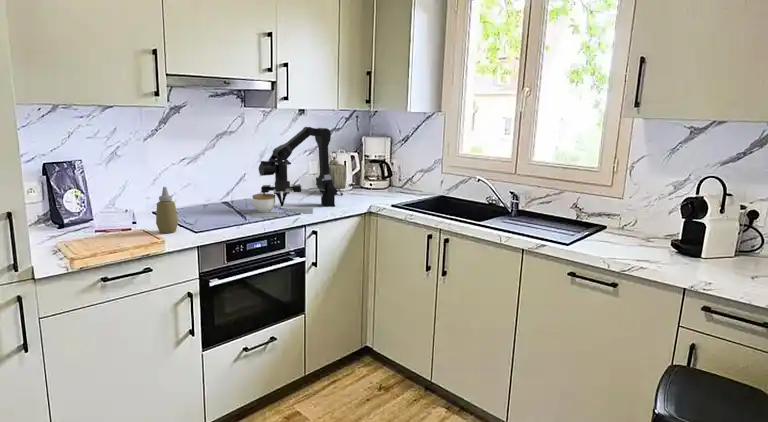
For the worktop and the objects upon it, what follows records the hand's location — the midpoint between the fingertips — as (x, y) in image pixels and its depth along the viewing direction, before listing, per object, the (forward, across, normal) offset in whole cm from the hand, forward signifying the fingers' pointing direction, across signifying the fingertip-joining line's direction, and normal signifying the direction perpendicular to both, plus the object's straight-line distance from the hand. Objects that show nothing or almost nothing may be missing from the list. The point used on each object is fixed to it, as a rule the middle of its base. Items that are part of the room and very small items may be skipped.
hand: (282, 206), depth 240 cm
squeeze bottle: (+2, -42, -39) cm, 58 cm away
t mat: (+3, +1, 0) cm, 3 cm away
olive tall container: (+3, +27, +48) cm, 55 cm away
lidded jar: (+2, -8, 0) cm, 9 cm away
